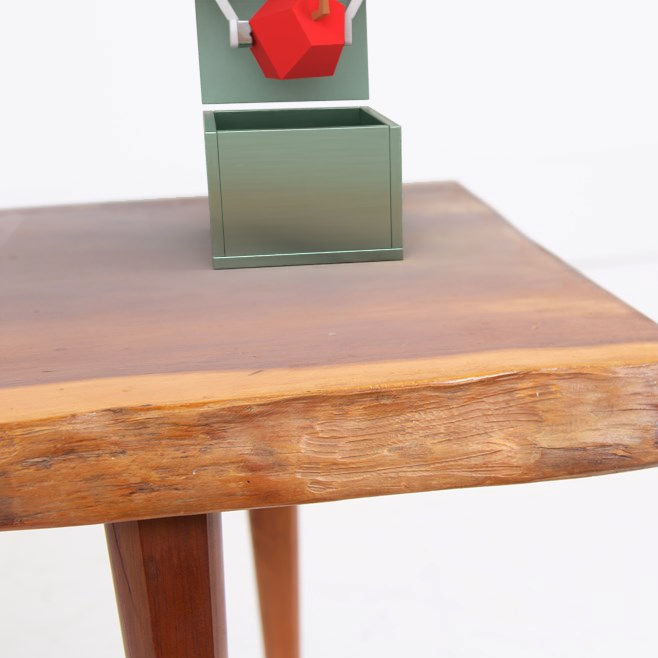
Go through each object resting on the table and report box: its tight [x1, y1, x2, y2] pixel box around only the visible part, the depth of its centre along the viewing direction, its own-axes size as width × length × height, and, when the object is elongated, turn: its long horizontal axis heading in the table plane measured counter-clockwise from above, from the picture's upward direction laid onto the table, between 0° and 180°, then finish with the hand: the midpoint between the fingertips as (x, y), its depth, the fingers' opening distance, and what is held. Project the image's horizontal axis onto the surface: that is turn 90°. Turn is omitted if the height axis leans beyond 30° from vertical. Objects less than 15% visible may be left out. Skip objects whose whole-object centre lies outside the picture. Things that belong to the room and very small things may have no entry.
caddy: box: [202, 105, 404, 270], centre depth 80 cm, size 15×13×9 cm
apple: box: [249, 0, 345, 80], centre depth 76 cm, size 7×7×8 cm
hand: (290, 47), depth 77 cm, fingers closed on apple, 5 cm apart
